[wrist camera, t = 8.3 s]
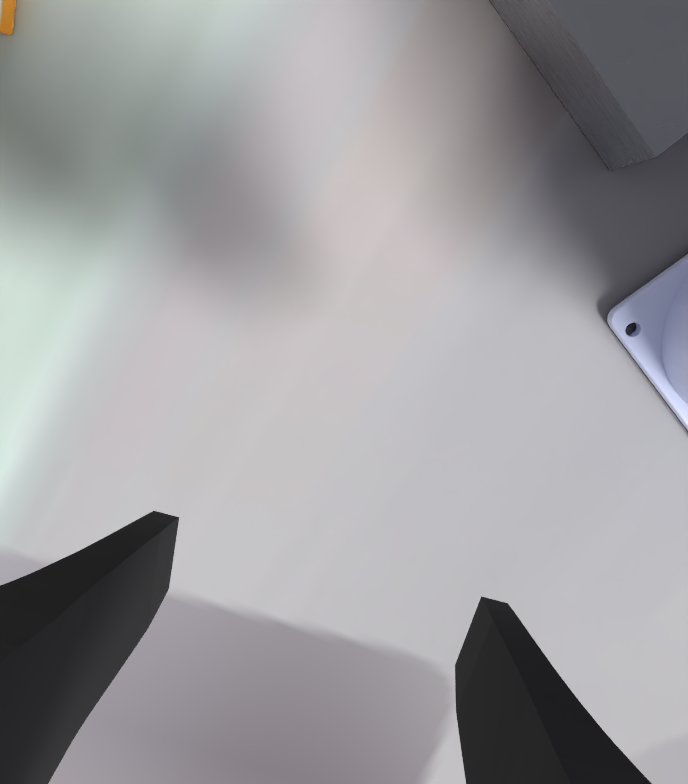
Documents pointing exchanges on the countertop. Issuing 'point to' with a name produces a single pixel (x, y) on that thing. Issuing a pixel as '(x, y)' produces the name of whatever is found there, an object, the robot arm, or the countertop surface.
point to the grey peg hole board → (611, 68)
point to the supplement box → (7, 16)
